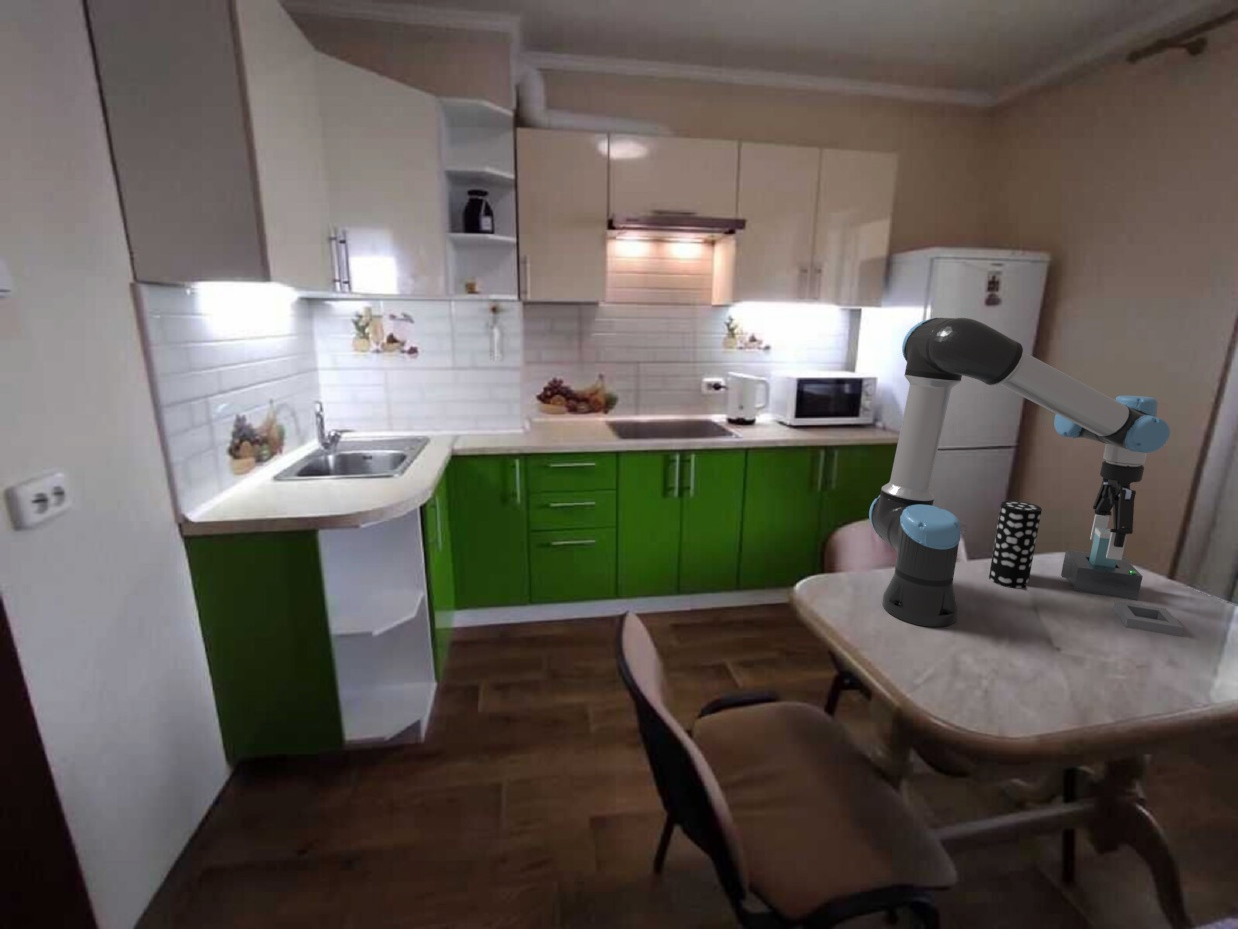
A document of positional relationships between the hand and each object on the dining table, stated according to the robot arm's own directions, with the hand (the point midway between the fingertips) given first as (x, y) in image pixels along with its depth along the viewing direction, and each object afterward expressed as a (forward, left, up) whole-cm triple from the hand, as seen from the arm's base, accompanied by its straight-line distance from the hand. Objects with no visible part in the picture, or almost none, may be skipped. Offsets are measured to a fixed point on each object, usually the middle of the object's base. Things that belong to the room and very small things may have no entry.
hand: (1105, 549), depth 141 cm
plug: (0, 0, -7) cm, 7 cm away
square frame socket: (+4, -18, -10) cm, 21 cm away
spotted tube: (-19, -4, -11) cm, 22 cm away
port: (0, 0, -10) cm, 10 cm away
